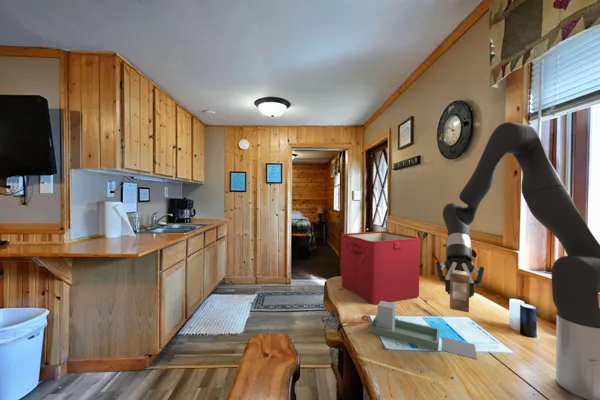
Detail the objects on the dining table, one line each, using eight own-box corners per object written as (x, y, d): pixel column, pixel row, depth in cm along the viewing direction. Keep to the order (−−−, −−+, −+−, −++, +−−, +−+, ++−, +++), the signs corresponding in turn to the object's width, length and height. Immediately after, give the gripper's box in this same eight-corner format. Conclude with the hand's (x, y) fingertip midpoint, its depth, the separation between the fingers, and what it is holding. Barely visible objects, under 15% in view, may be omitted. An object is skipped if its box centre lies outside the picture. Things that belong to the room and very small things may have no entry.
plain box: (394, 328, 95) (395, 303, 94) (392, 334, 90) (392, 308, 90) (380, 325, 97) (380, 300, 97) (377, 330, 93) (377, 305, 93)
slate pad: (474, 346, 84) (474, 344, 84) (477, 361, 77) (477, 359, 77) (442, 338, 89) (442, 336, 89) (441, 352, 81) (441, 350, 81)
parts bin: (439, 337, 90) (439, 328, 90) (438, 352, 81) (438, 343, 81) (376, 322, 100) (376, 314, 100) (369, 333, 91) (369, 325, 91)
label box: (467, 306, 84) (468, 271, 84) (468, 312, 79) (469, 275, 79) (449, 302, 86) (450, 268, 86) (449, 309, 81) (450, 273, 81)
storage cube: (369, 307, 114) (370, 240, 114) (337, 287, 140) (337, 232, 140) (424, 297, 126) (425, 237, 126) (386, 280, 152) (386, 230, 152)
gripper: (435, 240, 93) (432, 284, 82) (484, 244, 85) (489, 293, 75) (435, 253, 97) (433, 296, 87) (482, 258, 90) (486, 305, 80)
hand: (459, 294), depth 81 cm, fingers closed on label box, 5 cm apart
